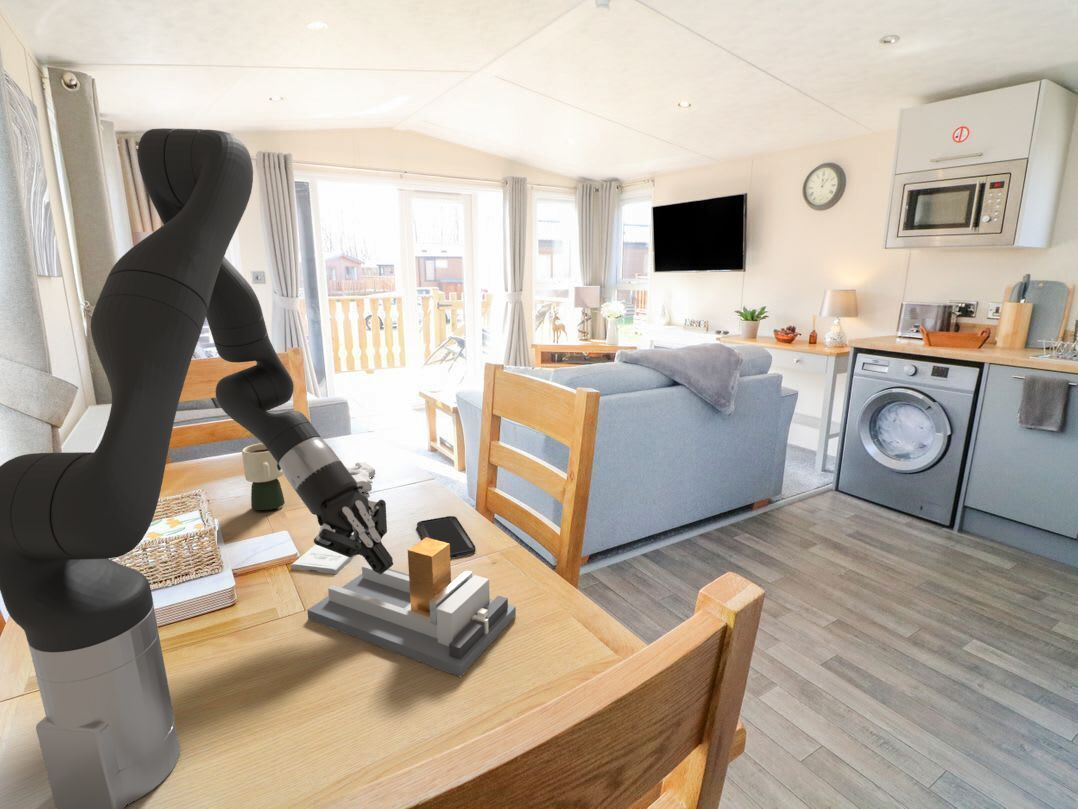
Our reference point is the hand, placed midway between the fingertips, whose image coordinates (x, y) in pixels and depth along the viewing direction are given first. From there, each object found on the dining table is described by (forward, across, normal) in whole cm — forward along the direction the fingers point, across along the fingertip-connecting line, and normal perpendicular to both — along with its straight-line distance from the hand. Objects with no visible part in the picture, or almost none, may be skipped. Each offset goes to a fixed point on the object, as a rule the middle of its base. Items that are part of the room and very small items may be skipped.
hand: (387, 569), depth 82 cm
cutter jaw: (+9, 0, -2) cm, 9 cm away
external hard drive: (-9, +8, +19) cm, 23 cm away
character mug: (-28, +16, +38) cm, 50 cm away
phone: (+1, +22, +9) cm, 24 cm away
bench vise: (+8, 0, +2) cm, 8 cm away
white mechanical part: (-24, +35, +34) cm, 54 cm away
